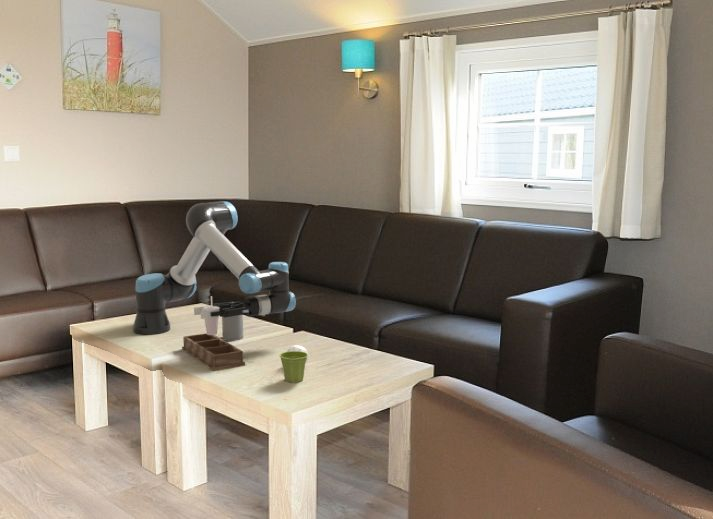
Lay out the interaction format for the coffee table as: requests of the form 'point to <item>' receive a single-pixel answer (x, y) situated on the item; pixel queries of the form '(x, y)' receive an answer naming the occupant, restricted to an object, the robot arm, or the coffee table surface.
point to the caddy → (213, 351)
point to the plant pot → (293, 365)
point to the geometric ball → (298, 349)
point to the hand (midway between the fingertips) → (197, 313)
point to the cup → (232, 328)
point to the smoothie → (211, 321)
